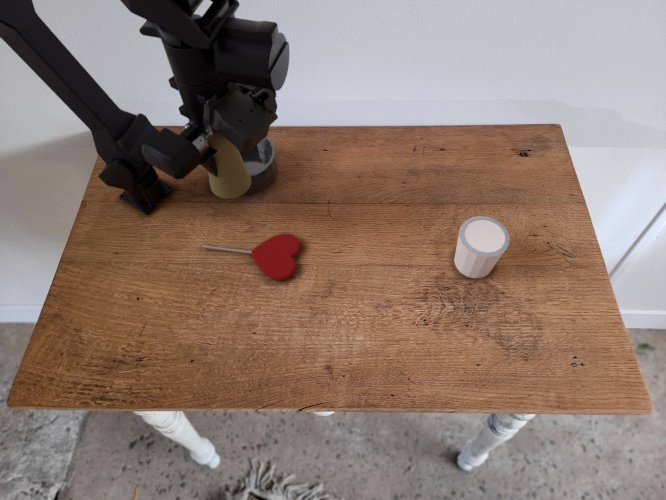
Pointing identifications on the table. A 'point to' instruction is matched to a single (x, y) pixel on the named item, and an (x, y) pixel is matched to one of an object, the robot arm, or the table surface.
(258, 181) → the bowl
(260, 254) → the lollipop
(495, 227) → the white cylinder
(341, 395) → the table surface
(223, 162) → the olive rounded peg
